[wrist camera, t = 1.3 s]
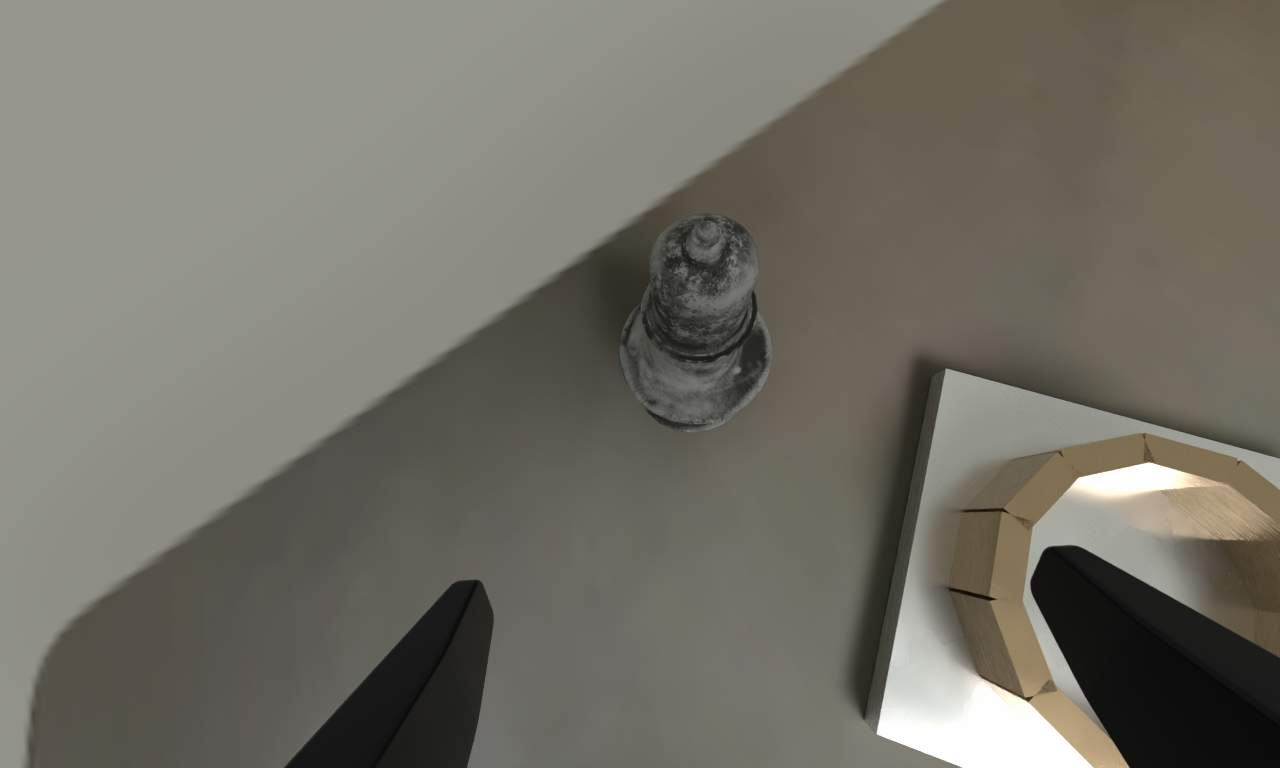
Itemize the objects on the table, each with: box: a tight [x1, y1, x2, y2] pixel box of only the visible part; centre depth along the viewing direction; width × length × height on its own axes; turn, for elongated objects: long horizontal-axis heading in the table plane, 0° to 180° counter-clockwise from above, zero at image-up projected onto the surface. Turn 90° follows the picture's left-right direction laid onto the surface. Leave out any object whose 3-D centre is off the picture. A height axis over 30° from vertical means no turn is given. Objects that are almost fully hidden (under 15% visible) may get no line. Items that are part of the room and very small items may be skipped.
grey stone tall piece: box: [619, 213, 772, 433], centre depth 17 cm, size 6×6×12 cm
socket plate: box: [864, 369, 1280, 768], centre depth 17 cm, size 14×14×4 cm
